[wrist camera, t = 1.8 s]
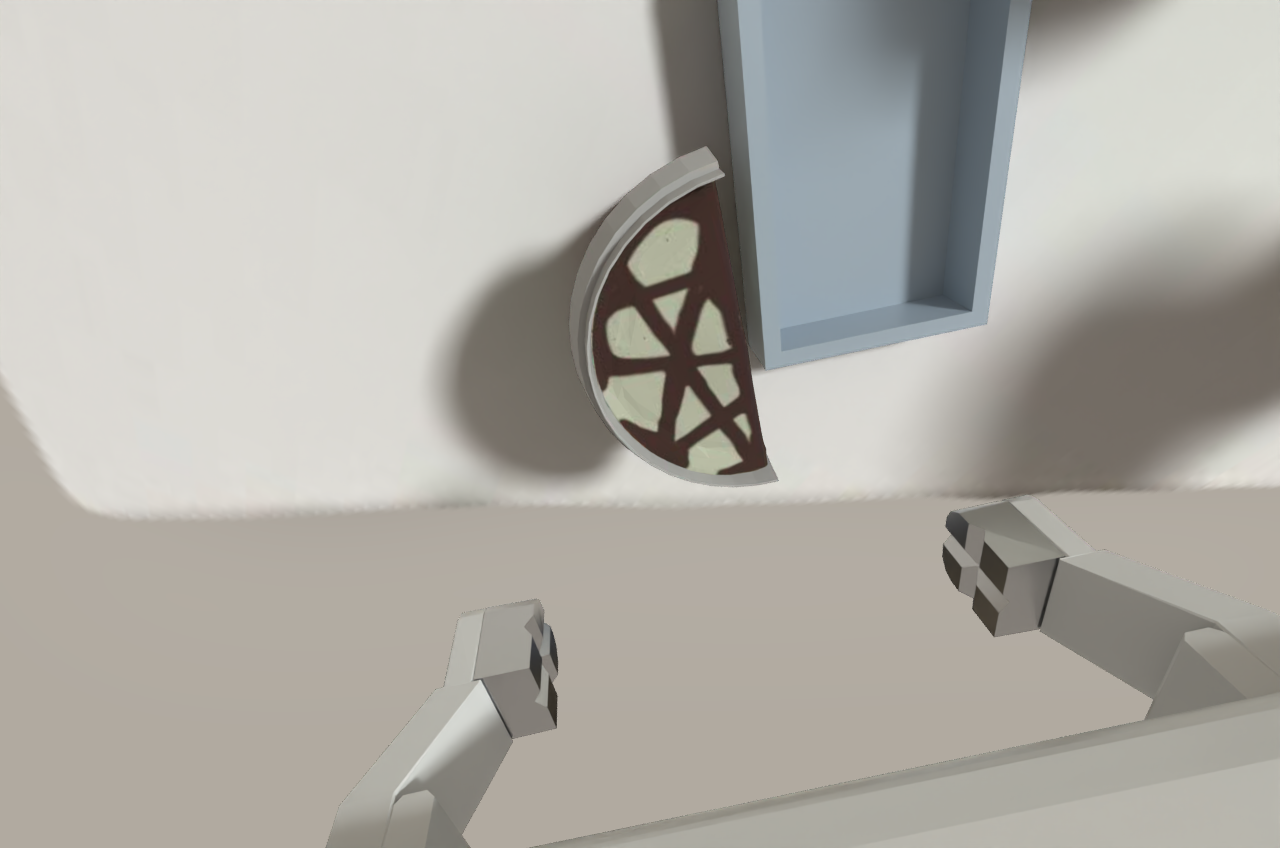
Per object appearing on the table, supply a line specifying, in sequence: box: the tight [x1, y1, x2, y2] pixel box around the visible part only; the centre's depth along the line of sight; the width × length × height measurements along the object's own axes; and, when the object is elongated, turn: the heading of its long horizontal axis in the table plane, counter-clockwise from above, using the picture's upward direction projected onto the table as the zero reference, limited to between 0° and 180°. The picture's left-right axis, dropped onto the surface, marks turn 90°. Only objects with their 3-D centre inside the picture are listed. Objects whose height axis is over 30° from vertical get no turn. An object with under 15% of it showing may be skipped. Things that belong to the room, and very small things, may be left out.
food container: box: [569, 146, 779, 487], centre depth 24 cm, size 12×6×10 cm, turn 15°
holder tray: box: [717, 0, 1032, 370], centre depth 24 cm, size 11×17×3 cm, turn 10°
